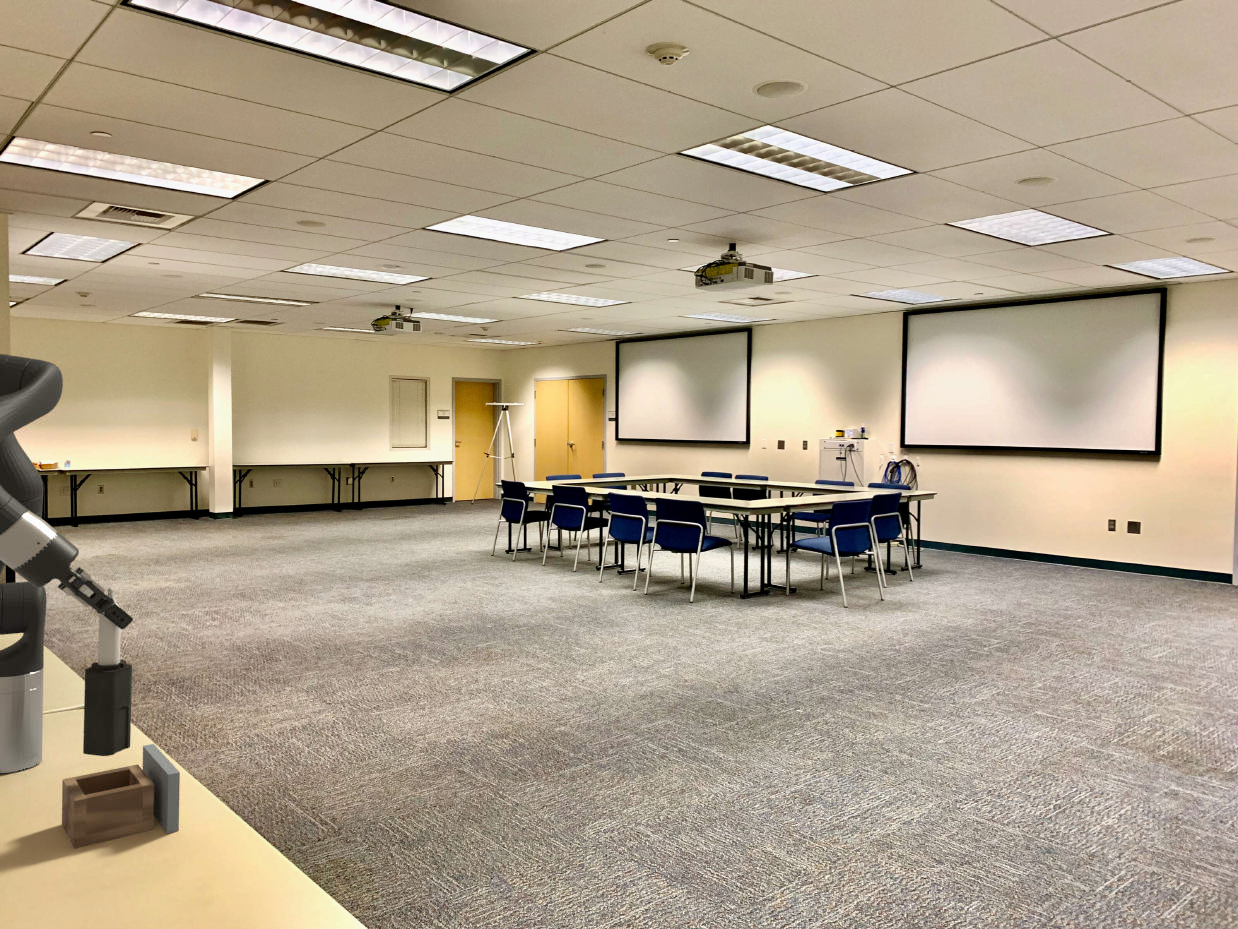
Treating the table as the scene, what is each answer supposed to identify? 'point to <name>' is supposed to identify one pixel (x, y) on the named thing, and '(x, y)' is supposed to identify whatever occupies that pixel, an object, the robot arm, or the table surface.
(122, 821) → the socket block
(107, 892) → the table surface
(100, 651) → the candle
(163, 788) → the backstop wall
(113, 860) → the table surface
